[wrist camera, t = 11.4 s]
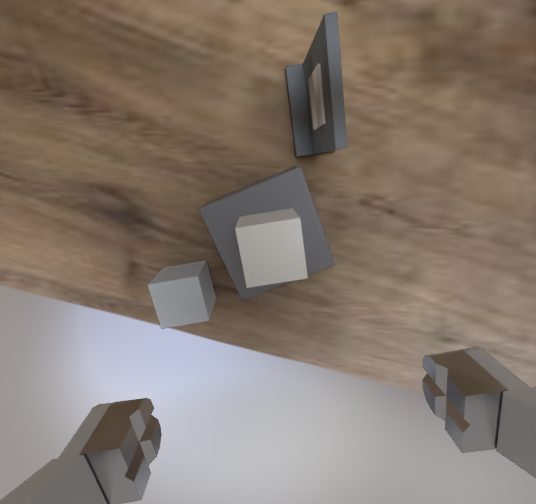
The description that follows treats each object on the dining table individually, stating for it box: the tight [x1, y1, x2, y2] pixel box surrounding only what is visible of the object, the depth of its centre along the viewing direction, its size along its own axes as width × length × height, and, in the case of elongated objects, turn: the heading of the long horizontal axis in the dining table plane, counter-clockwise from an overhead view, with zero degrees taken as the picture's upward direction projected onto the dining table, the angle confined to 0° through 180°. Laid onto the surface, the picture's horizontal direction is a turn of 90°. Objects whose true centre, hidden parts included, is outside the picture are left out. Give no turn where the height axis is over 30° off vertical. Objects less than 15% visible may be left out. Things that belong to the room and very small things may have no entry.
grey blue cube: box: [148, 260, 216, 329], centre depth 31 cm, size 5×5×5 cm
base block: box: [199, 166, 335, 300], centre depth 29 cm, size 10×10×5 cm
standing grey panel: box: [285, 12, 347, 157], centre depth 23 cm, size 8×4×10 cm, turn 9°
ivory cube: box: [235, 208, 308, 288], centre depth 25 cm, size 5×5×5 cm
